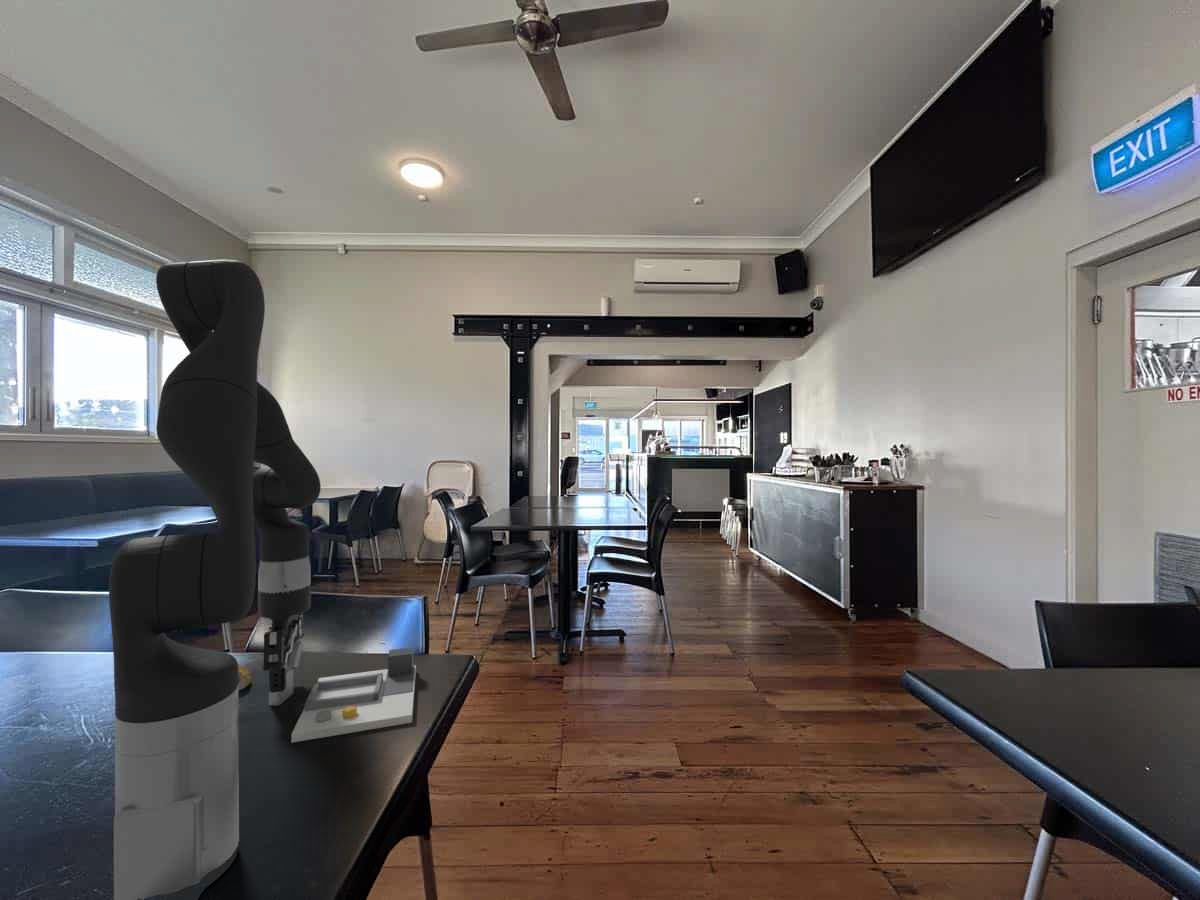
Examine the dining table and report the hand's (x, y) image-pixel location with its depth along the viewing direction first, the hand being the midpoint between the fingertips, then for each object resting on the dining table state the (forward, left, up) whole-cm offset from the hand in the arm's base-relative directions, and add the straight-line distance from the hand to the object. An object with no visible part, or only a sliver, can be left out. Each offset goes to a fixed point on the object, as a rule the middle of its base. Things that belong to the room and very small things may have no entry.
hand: (285, 679), depth 84 cm
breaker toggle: (0, -18, -1) cm, 18 cm away
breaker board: (-7, -13, -3) cm, 15 cm away
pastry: (+6, +11, -3) cm, 13 cm away
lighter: (0, 0, -3) cm, 3 cm away
